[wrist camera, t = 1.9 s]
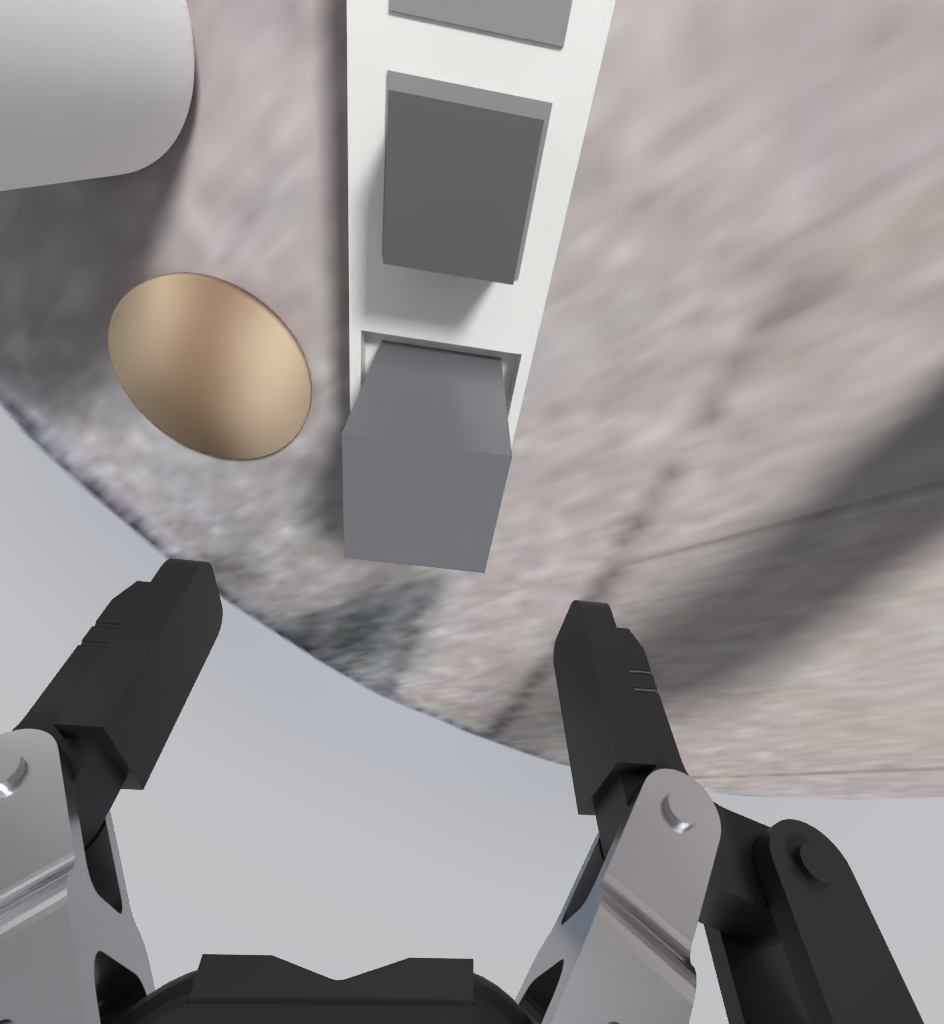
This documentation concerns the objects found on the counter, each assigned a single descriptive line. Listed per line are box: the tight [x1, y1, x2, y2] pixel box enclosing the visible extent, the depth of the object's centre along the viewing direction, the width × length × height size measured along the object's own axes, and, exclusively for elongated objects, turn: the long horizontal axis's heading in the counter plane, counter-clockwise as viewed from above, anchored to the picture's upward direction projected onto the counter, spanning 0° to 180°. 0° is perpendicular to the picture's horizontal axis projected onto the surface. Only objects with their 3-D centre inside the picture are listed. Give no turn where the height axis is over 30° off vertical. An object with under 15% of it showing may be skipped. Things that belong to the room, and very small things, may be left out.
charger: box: [342, 340, 512, 573], centre depth 17 cm, size 4×5×7 cm
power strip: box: [347, 0, 616, 447], centre depth 14 cm, size 6×26×6 cm, turn 171°
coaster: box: [108, 272, 312, 459], centre depth 21 cm, size 8×8×1 cm
